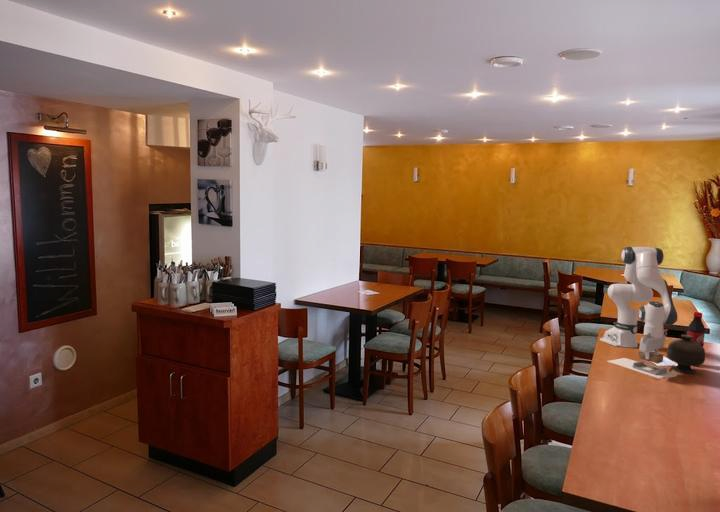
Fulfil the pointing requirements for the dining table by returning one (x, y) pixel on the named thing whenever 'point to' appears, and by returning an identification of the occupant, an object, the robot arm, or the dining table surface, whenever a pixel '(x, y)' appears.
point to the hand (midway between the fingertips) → (650, 357)
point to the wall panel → (644, 368)
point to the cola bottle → (697, 329)
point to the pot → (685, 354)
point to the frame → (652, 357)
